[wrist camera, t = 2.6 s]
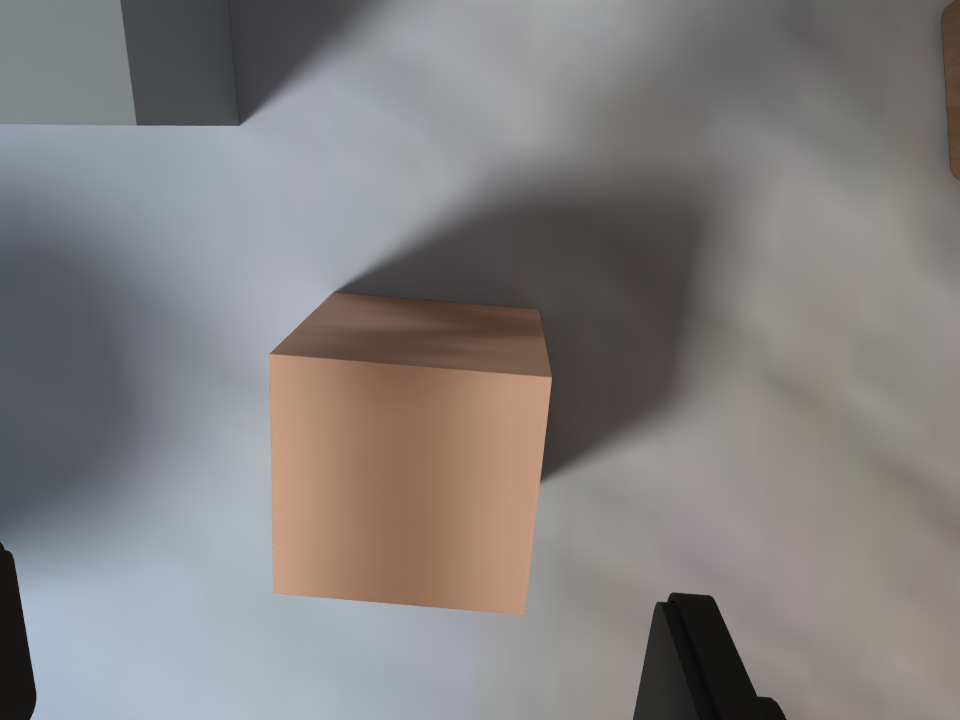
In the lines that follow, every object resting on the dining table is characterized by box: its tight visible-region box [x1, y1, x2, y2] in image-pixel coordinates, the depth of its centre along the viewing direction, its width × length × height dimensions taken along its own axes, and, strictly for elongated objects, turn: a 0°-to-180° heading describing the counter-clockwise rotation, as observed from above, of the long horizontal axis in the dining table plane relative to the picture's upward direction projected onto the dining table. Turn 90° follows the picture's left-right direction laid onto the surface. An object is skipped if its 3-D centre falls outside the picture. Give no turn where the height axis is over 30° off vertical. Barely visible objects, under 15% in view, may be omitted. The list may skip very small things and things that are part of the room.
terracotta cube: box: [269, 292, 552, 615], centre depth 19 cm, size 6×6×6 cm
